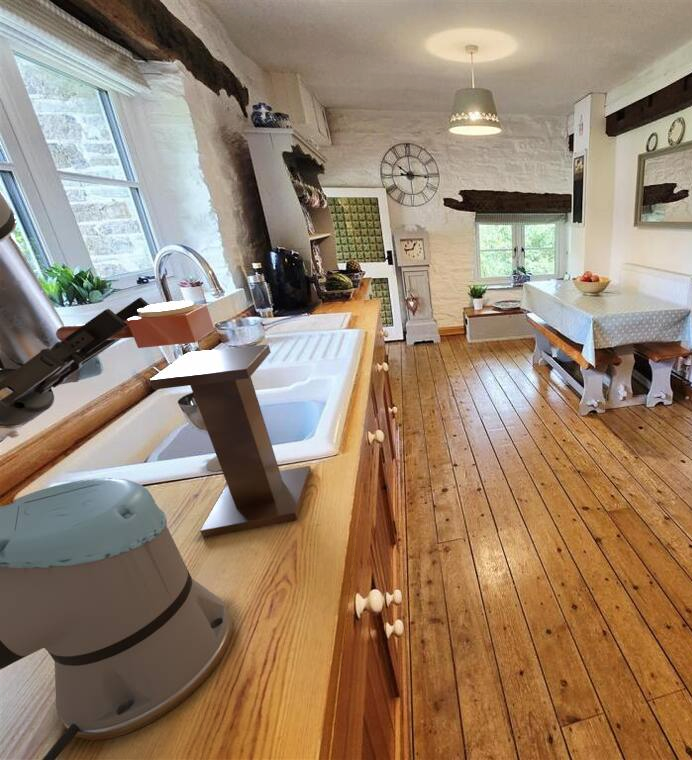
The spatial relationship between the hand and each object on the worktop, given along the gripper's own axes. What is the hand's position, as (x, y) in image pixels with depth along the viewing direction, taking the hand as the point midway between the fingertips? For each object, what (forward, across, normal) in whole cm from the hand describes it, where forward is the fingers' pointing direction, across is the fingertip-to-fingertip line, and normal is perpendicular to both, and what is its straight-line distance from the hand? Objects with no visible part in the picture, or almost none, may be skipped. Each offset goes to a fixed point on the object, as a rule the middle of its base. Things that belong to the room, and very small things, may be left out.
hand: (133, 311), depth 57 cm
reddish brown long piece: (-3, 0, -3) cm, 5 cm away
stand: (-11, 0, -35) cm, 36 cm away
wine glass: (-21, -17, -29) cm, 40 cm away
